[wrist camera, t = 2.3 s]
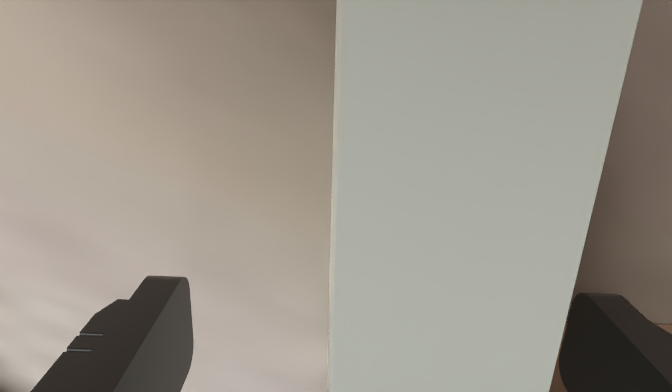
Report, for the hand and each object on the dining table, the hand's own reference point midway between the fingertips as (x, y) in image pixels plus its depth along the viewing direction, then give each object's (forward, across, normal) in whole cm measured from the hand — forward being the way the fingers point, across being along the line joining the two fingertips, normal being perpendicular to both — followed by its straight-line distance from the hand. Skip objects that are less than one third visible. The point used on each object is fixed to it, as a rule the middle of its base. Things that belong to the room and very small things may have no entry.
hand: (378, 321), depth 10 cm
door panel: (+5, 0, -1) cm, 5 cm away
